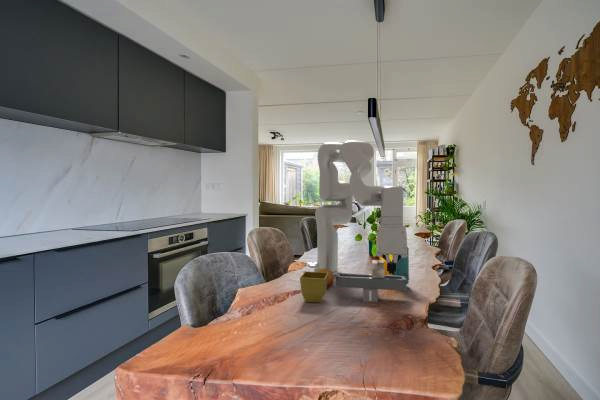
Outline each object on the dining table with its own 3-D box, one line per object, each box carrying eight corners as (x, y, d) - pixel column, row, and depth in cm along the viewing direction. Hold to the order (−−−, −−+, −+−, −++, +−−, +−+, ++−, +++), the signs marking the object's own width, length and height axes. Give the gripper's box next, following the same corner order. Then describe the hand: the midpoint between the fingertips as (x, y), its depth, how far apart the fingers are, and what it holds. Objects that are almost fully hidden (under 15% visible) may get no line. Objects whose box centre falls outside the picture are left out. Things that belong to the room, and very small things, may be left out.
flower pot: (325, 305, 115) (325, 278, 114) (299, 303, 116) (299, 277, 116) (328, 297, 123) (328, 272, 123) (304, 296, 125) (304, 271, 125)
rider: (372, 283, 120) (372, 262, 120) (372, 279, 126) (372, 259, 125) (384, 283, 119) (384, 263, 119) (383, 279, 125) (383, 260, 125)
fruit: (333, 279, 143) (333, 265, 138) (333, 294, 136) (333, 279, 132) (314, 279, 143) (313, 264, 139) (313, 293, 137) (312, 279, 133)
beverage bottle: (405, 289, 133) (406, 237, 132) (389, 286, 137) (389, 236, 136) (411, 286, 138) (411, 236, 138) (395, 283, 142) (395, 234, 142)
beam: (335, 299, 121) (335, 277, 121) (337, 292, 130) (337, 271, 130) (406, 303, 116) (406, 281, 116) (403, 295, 125) (403, 274, 125)
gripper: (370, 221, 119) (369, 275, 119) (415, 222, 116) (415, 277, 117) (369, 220, 126) (369, 270, 127) (412, 220, 123) (412, 272, 124)
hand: (391, 273), depth 122 cm, fingers closed
